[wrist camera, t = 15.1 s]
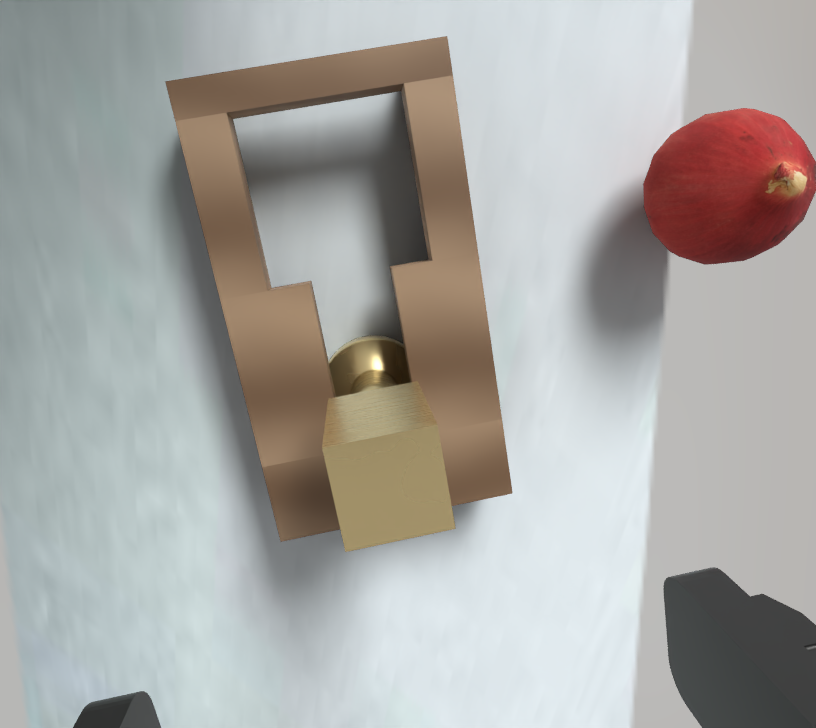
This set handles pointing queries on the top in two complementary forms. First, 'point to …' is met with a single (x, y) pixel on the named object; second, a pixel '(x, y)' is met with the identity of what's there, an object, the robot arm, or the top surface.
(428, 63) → the keyhole plate
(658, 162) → the onion
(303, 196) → the top surface
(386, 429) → the keyhole peg
